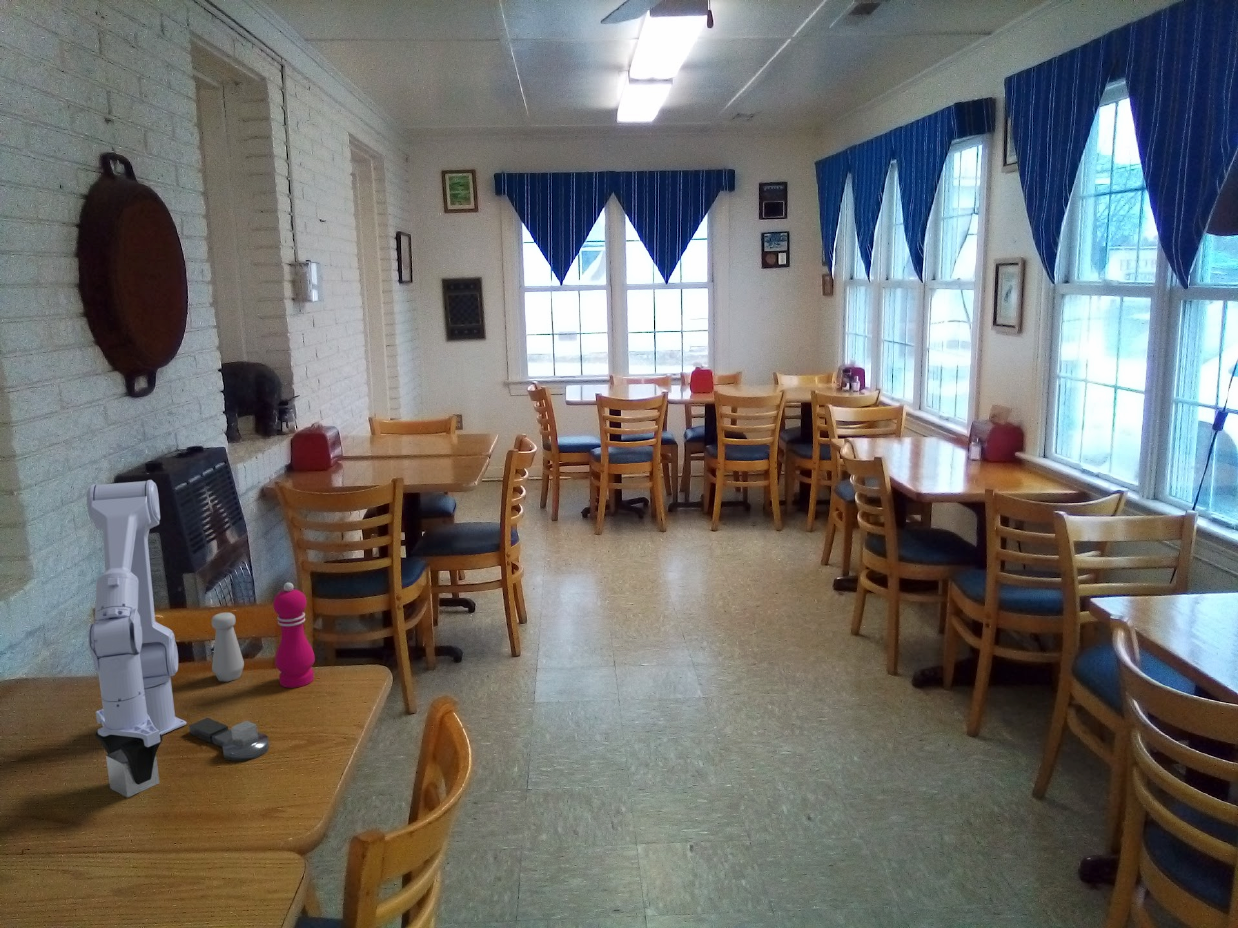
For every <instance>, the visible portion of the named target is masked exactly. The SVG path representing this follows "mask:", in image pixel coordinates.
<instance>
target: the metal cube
mask: <svg viewBox="0 0 1238 928" xmlns="http://www.w3.org/2000/svg"><path fill="white" fill-rule="evenodd" d="M105 759H106V760H105V761H106V767H107V775H108V781H109V783H108V784H109V789H111V790H112V791H114V792H116V793H118V794H120V795H122V796H123V797H125V798H127V799H128V798H130V797H133V796H134V795H137V794H139V793H141V792H143V791H146V790H148V789H150V788H152V787H153V786H156V785H158V784H160V775H159V768H158V760H157V759H158V758H157V754H156V755H155V759H154V764H153V771H152V777H151V779H150V780H148V781H146V782H144V783H142V784H139V785H138V784H136V782H135V780H134V778H133V775H132V771H131V767H130V764H129V762H128V759H127V757H126V756H125V754H124V753H123V751H122V750H121V749H120V750H117V751H115V752H113V753H110V754H108V753H107V754H106V755H105Z"/></svg>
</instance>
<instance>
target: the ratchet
mask: <svg viewBox="0 0 1238 928" xmlns="http://www.w3.org/2000/svg"><path fill="white" fill-rule="evenodd" d="M188 727H189V733H190V735H191V736H194V737H196V738H199V739H200V740H203V741H206V742H207V743H209V744H211V743H212V744H214V745H215V746H218V747H221V748H222V752H223V758H224V759H225V760H227V761H231V762H245V761H250V760H251V761H252V760H253V759H256V758H259V757H261V756H263V755H264V754H265V753H267V752H268V750H269V748H270V741H269V737H268V735H267V734H265V733H262V732H258V725H257V724H256V723H253V722H251V721H249V720H245V721H242V722H240V723H238V724H235V725H232V726H231V727H230V728H231V729H229V726H228V725H226V724H224V723H221V722H219V721H216V720H214V719H211V718H210V717H205V718H203V719H200V720H199V721H196V722H194V723H191V724H189V726H188Z"/></svg>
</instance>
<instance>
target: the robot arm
mask: <svg viewBox="0 0 1238 928" xmlns="http://www.w3.org/2000/svg"><path fill="white" fill-rule="evenodd" d="M86 507H87V512H88V516H89V518H90V520H91V521H93V523H94V524H93V525H94V527H95V528H96V529H97V530H100V531H101V532H102V535H103V537H102V538H103V550H104V551H103V552H104V555H103V556H104V567H105V572H104V573H103V574H101V575H100V576H99V577H98V578H97V580H96V584H95V585H96V588H95V589H96V590H95V607H94V623H91V624H89V628H88V637H87V639H88V640H87V641H88V648H89V652H90V653H89V654H90V655H91V658H92V661H93V667H94V669H95V670H94V671H96V672H97V673H98V674H97V675H98V681H99V688H100V695H101V704H102V709H100V710H96V711H95V718H96V723H97V724H99V725H102V727H100V728H98V729H97V732H95V734H94V735H95V738H96V739H97V740H98V742H100V744H101V745H102V746H103V749H105V752H106V753H107V755H108V754H110V753H113V752H115V751H117V750H120V749H121V750H122V751H123V753H124V754H125V756H126V757H127V759H128V762H129V764H130V767H131V771H132V775H133V778H134V780H135V782H136V784H138V785H139V784H142V783H144V782H146V781H148V780H150V779H151V777H152V771H153V764H154V759H155V755H156V756H157V752H158V750H159V747H160V745H161V743H162V741H163V735H165V734H166V733H169V732H171V731H173V730H176V729H178V728H181V727H183V726H185V725H187V721H186V720H184V719H181V718H179V717H177V716H176V713H175V704H174V697H173V687H172V679H171V677H173V676H174V677H175V675H176V674H177V672H178V670H179V653H178V651H179V650H178V646H177V643H176V638H175V633H174V631H173V630H172V629H170V628H169V627H167V626H165V625H162V624H161V623H159V622H158V621H156V614H155V606H154V605H155V603H154V593H153V583H152V582H153V581H152V574H151V573H152V572H151V570H152V569H151V564H150V563H151V562H150V550H149V533H150V529H153V528H154V527H157V526H159V525H160V520H161V511H160V499H159V492H158V486H157V483H156V482H154V481H153V480H152V479H148V480H143V481H132V482H131V481H130V482H118V483H117V482H116V483H115V482H114V483H105V484H103V483H101V484H97V483H94V484H91V485H90V487H88V489H87V491H86Z"/></svg>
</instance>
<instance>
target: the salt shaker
mask: <svg viewBox="0 0 1238 928" xmlns="http://www.w3.org/2000/svg"><path fill="white" fill-rule="evenodd" d="M236 622H237V621H236V616H235V614H233V613H232V612H219V613H217V614H214V615H213V616H212V618H211V626H212V628H213V629H215V635H214V636H215V637H214V638H215V639H214V647H213V656H212V664H211V665H212V666H211V670H212V673H213V674H214V675H215V676H216V678H217V680H218V681H219V682H227V683H228V682H231V681H236V680H238V679H239V678H240V677H241V676H242V673H243V670H244V666H245V662H244V658H243V654H242V652H241V651H242V650H241V649H240V645H239V641H238V637H237V635H236V631H235V628H234V626H235V625H236Z"/></svg>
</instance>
